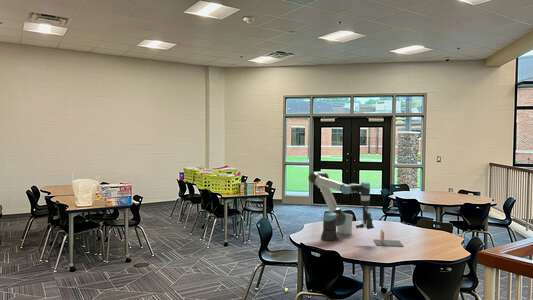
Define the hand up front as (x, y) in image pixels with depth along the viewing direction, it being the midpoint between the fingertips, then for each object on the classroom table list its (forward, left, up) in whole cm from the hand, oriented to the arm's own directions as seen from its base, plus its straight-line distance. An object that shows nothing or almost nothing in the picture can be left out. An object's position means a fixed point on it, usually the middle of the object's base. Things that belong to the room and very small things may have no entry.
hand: (364, 227), depth 339 cm
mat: (+20, 0, -13) cm, 24 cm away
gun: (0, 0, -2) cm, 2 cm away
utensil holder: (-15, +33, -14) cm, 39 cm away
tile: (+15, 0, -13) cm, 20 cm away
